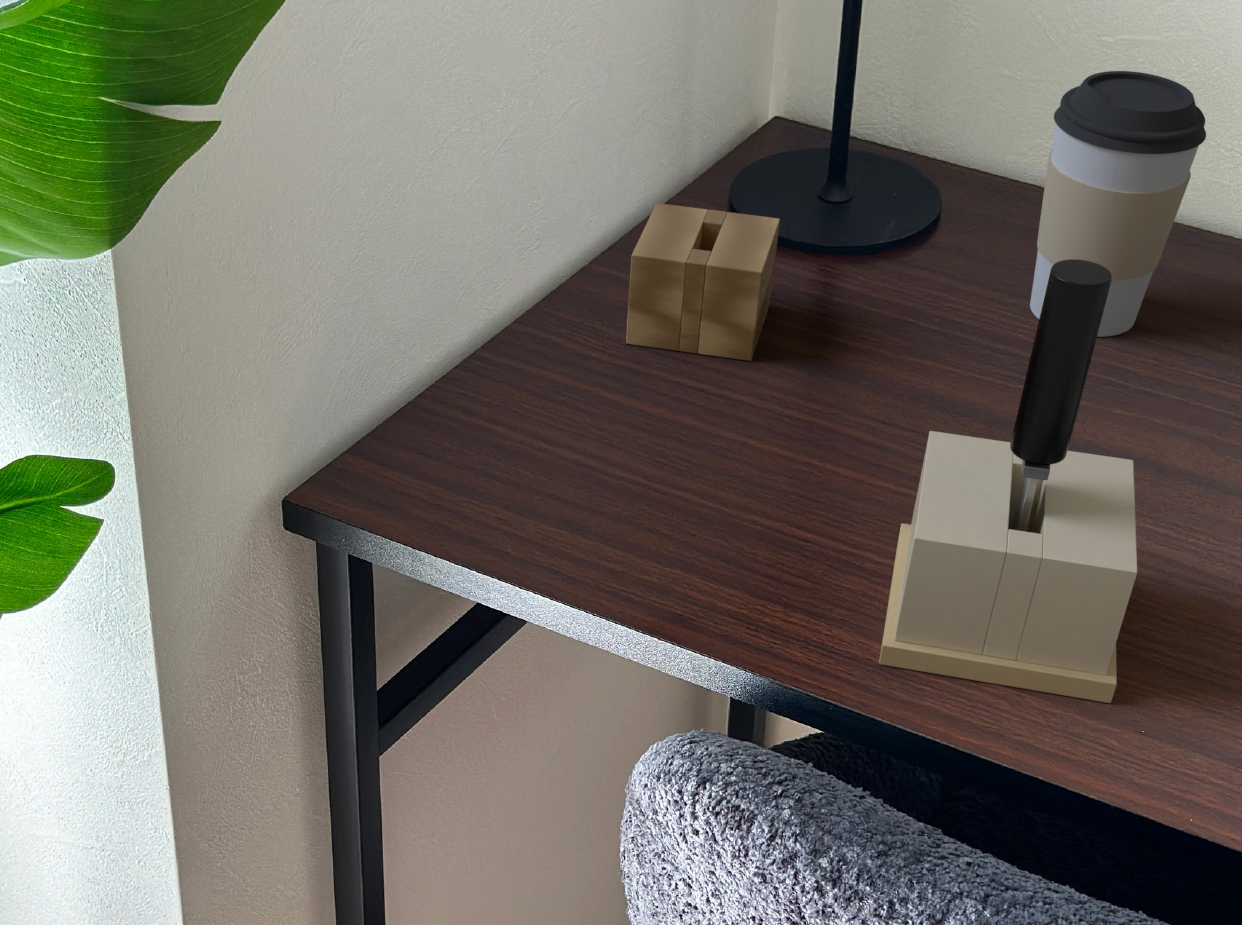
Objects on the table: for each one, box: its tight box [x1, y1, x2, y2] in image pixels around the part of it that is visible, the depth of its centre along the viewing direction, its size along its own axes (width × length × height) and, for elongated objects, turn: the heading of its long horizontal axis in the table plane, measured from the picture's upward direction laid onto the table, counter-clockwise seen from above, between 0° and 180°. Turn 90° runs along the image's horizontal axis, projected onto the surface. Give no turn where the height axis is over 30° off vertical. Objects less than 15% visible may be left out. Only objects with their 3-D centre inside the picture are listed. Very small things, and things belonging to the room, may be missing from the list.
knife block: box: [625, 202, 781, 362], centre depth 108 cm, size 8×8×6 cm
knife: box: [1010, 259, 1112, 532], centre depth 80 cm, size 3×3×18 cm
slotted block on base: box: [878, 430, 1138, 704], centre depth 84 cm, size 11×11×7 cm
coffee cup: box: [1029, 70, 1207, 338], centre depth 108 cm, size 9×9×15 cm
